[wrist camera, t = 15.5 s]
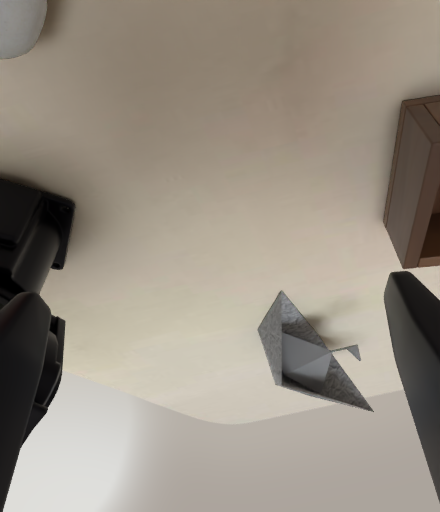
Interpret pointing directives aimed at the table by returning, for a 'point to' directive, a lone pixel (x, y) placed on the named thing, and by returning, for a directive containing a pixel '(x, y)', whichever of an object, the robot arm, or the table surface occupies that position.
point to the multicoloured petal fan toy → (20, 26)
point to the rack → (416, 185)
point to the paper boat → (305, 357)
